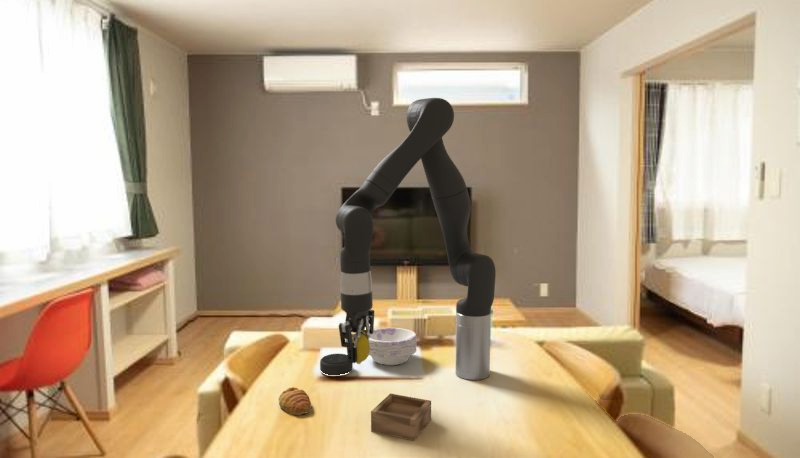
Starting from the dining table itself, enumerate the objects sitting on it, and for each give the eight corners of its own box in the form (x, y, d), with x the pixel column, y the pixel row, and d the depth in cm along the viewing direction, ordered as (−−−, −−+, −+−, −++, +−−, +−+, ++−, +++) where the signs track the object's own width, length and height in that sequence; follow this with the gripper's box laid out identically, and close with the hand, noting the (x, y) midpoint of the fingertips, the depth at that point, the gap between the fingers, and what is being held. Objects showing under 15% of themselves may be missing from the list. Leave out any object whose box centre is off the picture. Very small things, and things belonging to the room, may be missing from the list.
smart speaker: (314, 371, 152) (313, 357, 152) (340, 363, 158) (339, 350, 158) (332, 381, 146) (332, 366, 145) (359, 372, 152) (359, 358, 151)
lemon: (366, 368, 130) (365, 336, 129) (344, 367, 131) (343, 335, 130) (372, 360, 135) (371, 328, 134) (351, 359, 136) (350, 327, 135)
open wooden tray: (390, 412, 127) (390, 393, 127) (431, 420, 123) (431, 400, 123) (371, 431, 118) (370, 411, 118) (414, 440, 114) (414, 419, 114)
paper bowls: (392, 348, 172) (392, 323, 171) (427, 360, 161) (427, 334, 160) (353, 359, 161) (353, 333, 160) (388, 374, 150) (387, 346, 149)
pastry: (318, 412, 128) (318, 396, 127) (291, 420, 124) (290, 404, 123) (301, 398, 135) (301, 383, 135) (275, 405, 132) (275, 390, 131)
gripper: (355, 298, 123) (358, 370, 125) (383, 284, 136) (385, 349, 138) (326, 295, 126) (329, 366, 128) (356, 281, 139) (358, 346, 141)
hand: (358, 357), depth 133 cm, fingers closed on lemon, 5 cm apart
